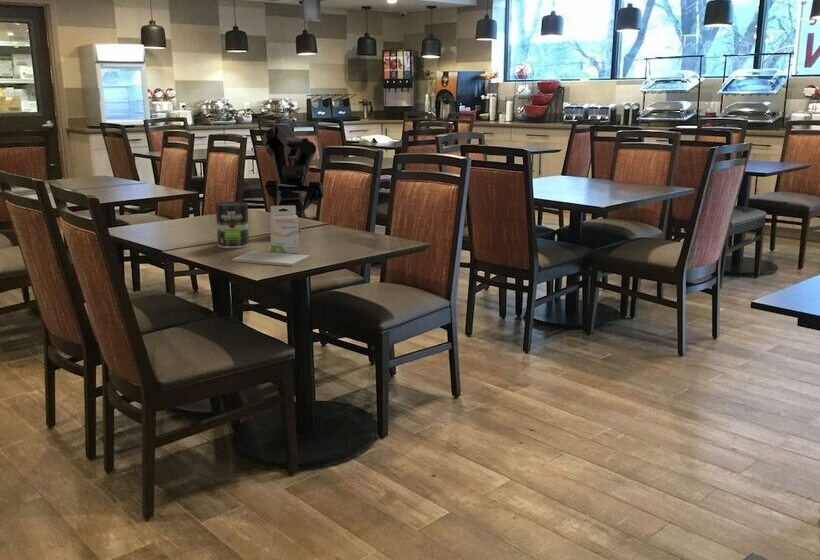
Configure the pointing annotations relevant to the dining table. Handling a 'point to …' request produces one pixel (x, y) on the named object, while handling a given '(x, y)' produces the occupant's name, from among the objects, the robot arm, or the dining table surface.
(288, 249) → the ink box
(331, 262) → the dining table surface
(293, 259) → the mat
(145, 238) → the dining table surface
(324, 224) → the dining table surface
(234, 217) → the coffee can
